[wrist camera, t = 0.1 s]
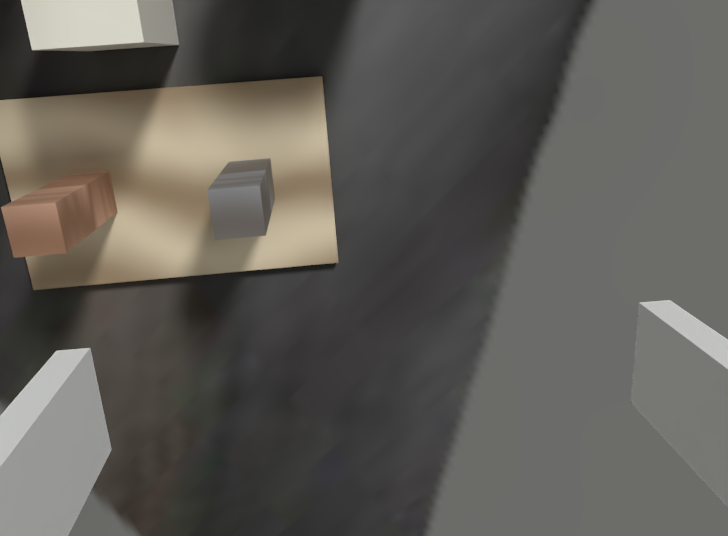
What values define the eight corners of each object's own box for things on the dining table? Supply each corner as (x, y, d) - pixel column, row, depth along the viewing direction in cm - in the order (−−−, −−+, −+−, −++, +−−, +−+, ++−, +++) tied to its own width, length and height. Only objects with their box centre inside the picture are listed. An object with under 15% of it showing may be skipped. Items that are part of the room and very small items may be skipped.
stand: (-9, 100, 39) (-107, 114, 30) (322, 75, 40) (325, 82, 31) (37, 287, 43) (-37, 349, 34) (337, 259, 44) (345, 313, 35)
